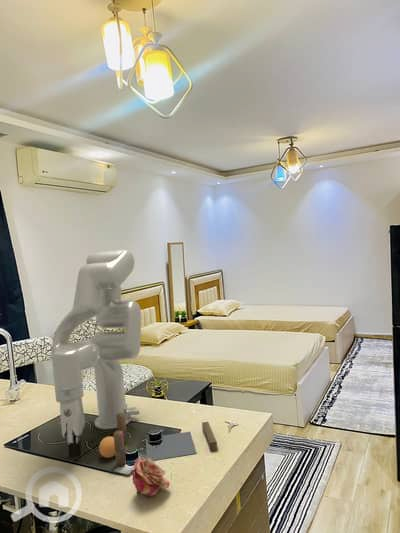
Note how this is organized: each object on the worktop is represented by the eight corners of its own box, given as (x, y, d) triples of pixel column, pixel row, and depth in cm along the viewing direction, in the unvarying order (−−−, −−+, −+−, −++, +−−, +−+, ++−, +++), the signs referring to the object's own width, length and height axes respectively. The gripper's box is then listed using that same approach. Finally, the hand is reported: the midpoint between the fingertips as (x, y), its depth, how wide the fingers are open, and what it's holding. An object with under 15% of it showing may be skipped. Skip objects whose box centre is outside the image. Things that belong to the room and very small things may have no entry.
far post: (127, 440, 122) (124, 412, 122) (127, 444, 120) (124, 415, 120) (118, 442, 122) (116, 413, 122) (118, 446, 120) (115, 416, 119)
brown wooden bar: (208, 429, 126) (208, 421, 126) (217, 450, 112) (216, 441, 112) (202, 430, 125) (201, 422, 125) (210, 451, 112) (209, 442, 111)
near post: (126, 461, 110) (123, 430, 110) (125, 466, 107) (122, 434, 107) (116, 463, 110) (113, 431, 109) (116, 468, 107) (113, 435, 107)
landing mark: (190, 432, 125) (190, 431, 125) (196, 453, 111) (196, 453, 111) (145, 438, 123) (145, 438, 123) (146, 461, 109) (146, 461, 109)
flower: (123, 503, 88) (142, 474, 88) (120, 474, 97) (136, 447, 97) (159, 515, 92) (177, 486, 91) (153, 486, 100) (169, 460, 100)
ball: (113, 429, 116) (97, 440, 116) (110, 436, 111) (93, 448, 110) (123, 445, 117) (107, 456, 116) (121, 453, 111) (104, 465, 110)
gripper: (79, 400, 105) (85, 467, 106) (86, 382, 120) (92, 441, 121) (49, 404, 104) (56, 472, 105) (61, 386, 119) (66, 445, 120)
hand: (75, 455), depth 113 cm, fingers closed
